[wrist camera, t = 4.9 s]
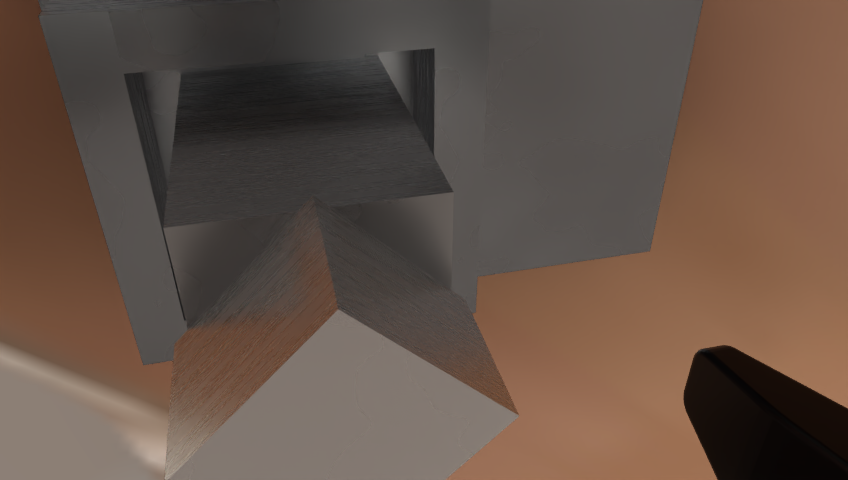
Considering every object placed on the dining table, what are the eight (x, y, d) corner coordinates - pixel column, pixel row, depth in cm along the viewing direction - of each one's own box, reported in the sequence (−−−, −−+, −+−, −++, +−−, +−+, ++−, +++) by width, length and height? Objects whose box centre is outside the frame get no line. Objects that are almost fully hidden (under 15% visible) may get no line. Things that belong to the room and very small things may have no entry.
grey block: (388, 44, 14) (533, 279, 8) (394, 224, 17) (508, 519, 10) (166, 62, 13) (119, 342, 7) (205, 249, 16) (197, 588, 9)
